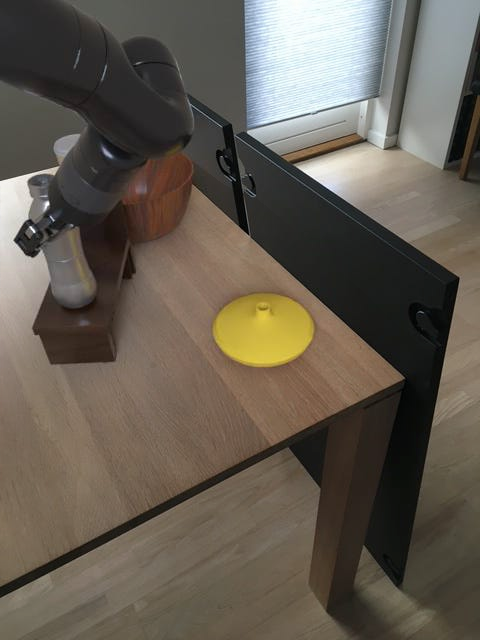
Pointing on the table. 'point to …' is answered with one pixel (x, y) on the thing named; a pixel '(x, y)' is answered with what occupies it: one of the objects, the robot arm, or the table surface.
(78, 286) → the plastic bottle
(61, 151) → the coffee cup
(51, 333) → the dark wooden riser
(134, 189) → the bowl
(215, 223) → the table surface
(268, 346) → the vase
